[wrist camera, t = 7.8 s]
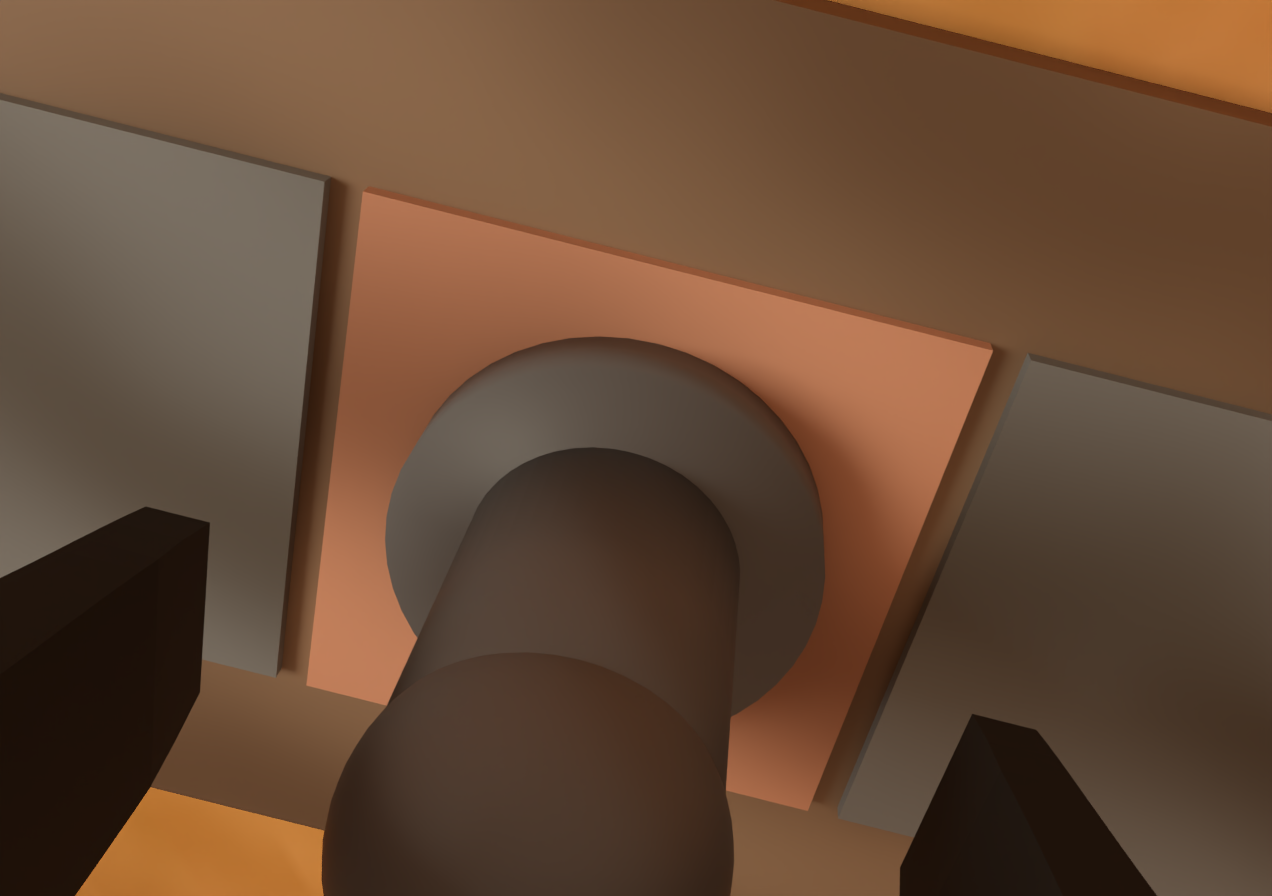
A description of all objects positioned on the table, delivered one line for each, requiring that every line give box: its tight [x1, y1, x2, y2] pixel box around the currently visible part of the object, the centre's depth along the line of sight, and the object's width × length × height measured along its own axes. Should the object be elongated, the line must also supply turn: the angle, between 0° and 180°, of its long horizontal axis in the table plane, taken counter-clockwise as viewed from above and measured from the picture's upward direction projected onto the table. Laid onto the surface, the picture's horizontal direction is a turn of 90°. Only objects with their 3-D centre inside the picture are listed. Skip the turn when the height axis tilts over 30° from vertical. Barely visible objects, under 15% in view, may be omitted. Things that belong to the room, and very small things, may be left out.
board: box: [0, 0, 1272, 896], centre depth 14 cm, size 12×28×1 cm, turn 77°
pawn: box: [322, 336, 825, 896], centre depth 11 cm, size 5×5×6 cm
